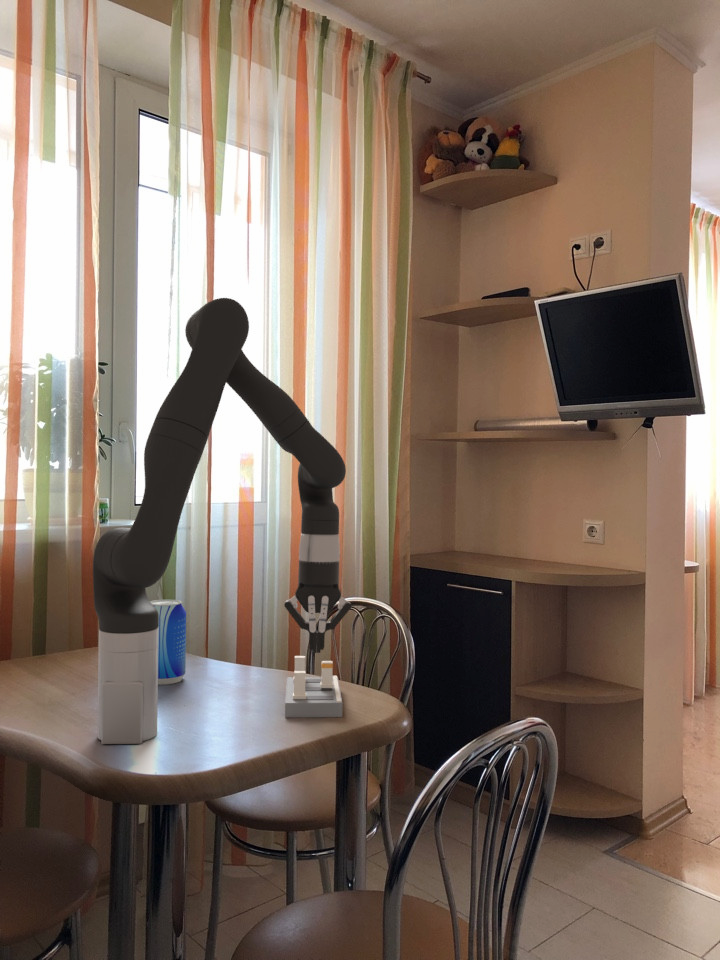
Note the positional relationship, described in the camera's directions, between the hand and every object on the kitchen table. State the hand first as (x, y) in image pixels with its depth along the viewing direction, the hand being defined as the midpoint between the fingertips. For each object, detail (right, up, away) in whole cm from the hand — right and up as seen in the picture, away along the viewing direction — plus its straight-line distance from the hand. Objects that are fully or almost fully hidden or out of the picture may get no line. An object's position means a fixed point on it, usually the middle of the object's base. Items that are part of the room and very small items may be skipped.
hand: (316, 652), depth 149 cm
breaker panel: (-1, -10, +1) cm, 10 cm away
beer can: (-32, -9, +15) cm, 37 cm away
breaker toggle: (+2, -7, +1) cm, 7 cm away
